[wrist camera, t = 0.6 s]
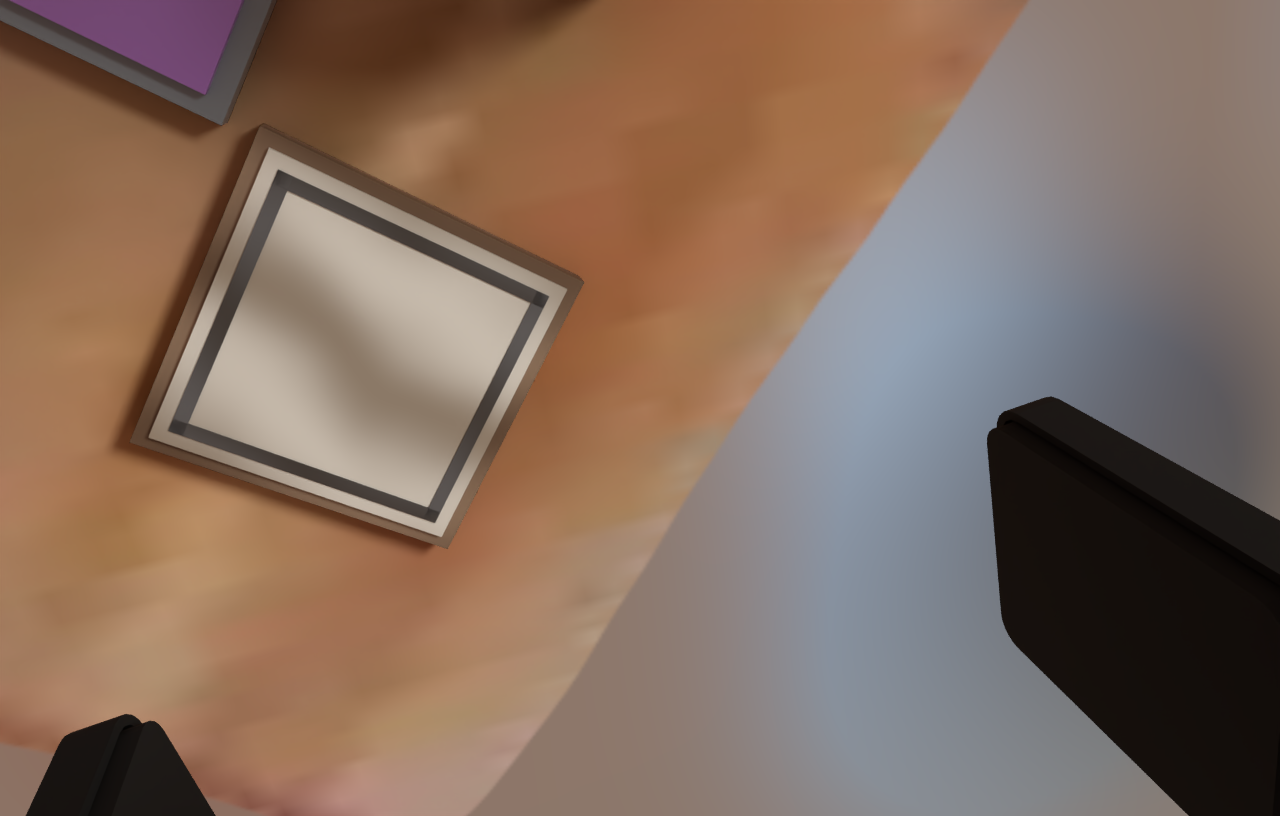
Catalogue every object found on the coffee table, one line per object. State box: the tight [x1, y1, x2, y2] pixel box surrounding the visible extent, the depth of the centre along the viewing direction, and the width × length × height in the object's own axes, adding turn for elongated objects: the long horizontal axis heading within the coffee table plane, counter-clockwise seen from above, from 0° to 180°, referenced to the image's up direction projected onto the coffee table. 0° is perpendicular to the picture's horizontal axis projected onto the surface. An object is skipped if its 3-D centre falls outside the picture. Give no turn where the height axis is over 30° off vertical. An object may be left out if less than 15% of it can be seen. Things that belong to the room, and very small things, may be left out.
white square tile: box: [130, 124, 584, 549], centre depth 34 cm, size 12×12×1 cm
